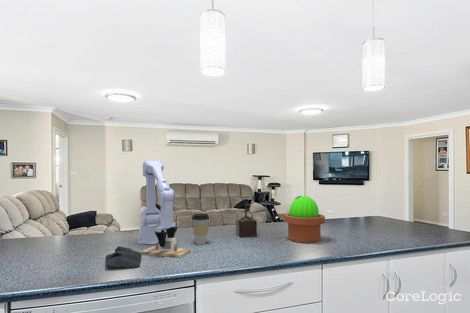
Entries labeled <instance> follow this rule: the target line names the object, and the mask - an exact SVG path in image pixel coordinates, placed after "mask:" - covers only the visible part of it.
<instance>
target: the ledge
mask: <svg viewBox="0 0 470 313" xmlns="http://www.w3.org/2000/svg"><path fill="white" fill-rule="evenodd" d="M189 253H191V249H190V248H181V247H179V248H178V244H177V243H176V244H175V251H173V252H169V251H159V242H158V243H155V245H153V246H151V247H148V248H146V249H144V250H142V251H141V254H142V255H149V256H158V257H168V258H182V257H184V256H186V255H188V254H189Z"/></svg>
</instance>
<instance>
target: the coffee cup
mask: <svg viewBox="0 0 470 313" xmlns="http://www.w3.org/2000/svg"><path fill="white" fill-rule="evenodd" d="M191 219H192V230H193V236H194V237H193V238H194V243H195V244H196V245H204V244H206V243H207V236H208V232H209V231H208V230H209V219H210V216H209V214H208V213H195V214H193V215H192V217H191Z"/></svg>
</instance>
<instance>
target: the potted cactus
mask: <svg viewBox="0 0 470 313" xmlns="http://www.w3.org/2000/svg"><path fill="white" fill-rule="evenodd" d="M289 206H290V207H289V212H288V213H285V214H283V222H284V223H287V237H288V240H290V241H292V242H295V241H296V242H297V243H301V242H303V244H313V243H312V242H314V243H318V242H320V241H321V238H322V236H321V235H322V234H321V233H322V232H321V231H322V230H321V225H323V224H325V223H326V217H325V215H324V214H320V213H319V212H320V211H319V210H320V209H319V207H318V204H317V202H316V201H315V200H314V199H312V197H310V196H308V195H307V196H306V195H304V196H303V195H298V196H297V197H295V198H294V199H293V200H292V202H291V203H290V205H289Z"/></svg>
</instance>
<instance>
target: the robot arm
mask: <svg viewBox="0 0 470 313" xmlns="http://www.w3.org/2000/svg"><path fill="white" fill-rule="evenodd" d="M164 168H165V164H164V162H163V160H144V161H143V163H142V176H143V177H145V184H146V185H145V189H146V191H145V192H146V195H145V196H146V198H145V200H146V207H145V208H144V209H142V211H141V212H140V218H139V219H140V224H141V225H140V227H139V228H138V241H137V244H143V245H156V243H158V246H159V245H160V247H164V246H165V239H166V238H175V235H176V232H177V230H178V227H177V226H176V223H177V222H174V217H173V216H174V202H175V200H176V193H175V190H174V189H172V188H171V186H170V184H169V182H168V180H167V179H165V176H164V172H163V171H164ZM156 188H157V189H156ZM156 190H158V201H159V206H160V209H158V208H157V206H156V199H157V198H156Z"/></svg>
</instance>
